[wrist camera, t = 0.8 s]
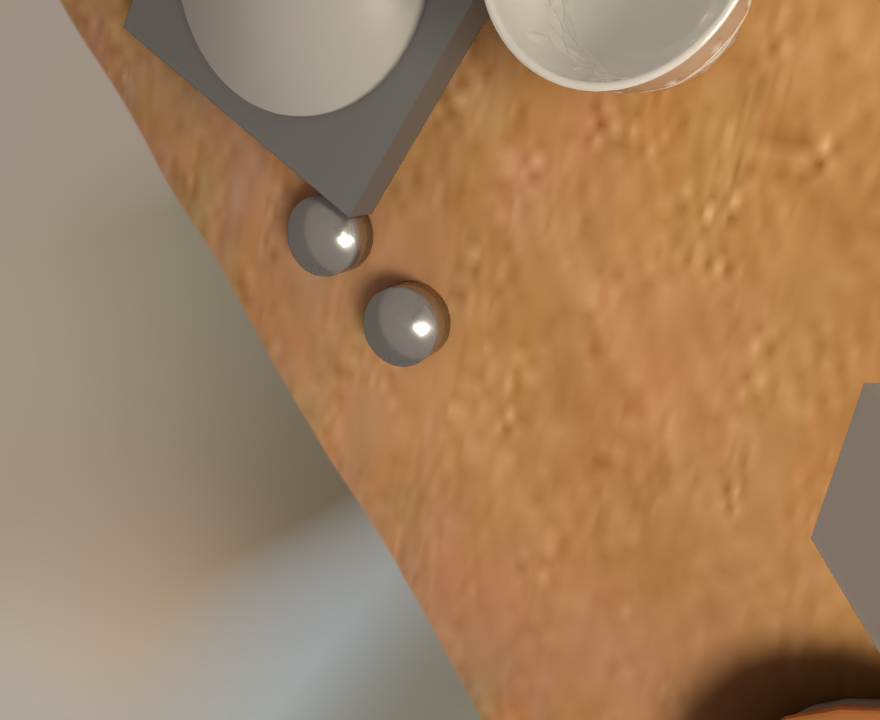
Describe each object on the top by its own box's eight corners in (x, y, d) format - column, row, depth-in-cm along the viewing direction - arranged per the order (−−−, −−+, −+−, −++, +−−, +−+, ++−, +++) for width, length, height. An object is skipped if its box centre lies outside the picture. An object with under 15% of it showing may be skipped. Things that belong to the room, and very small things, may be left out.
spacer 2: (406, 265, 37) (388, 271, 35) (465, 315, 36) (450, 323, 34) (369, 322, 39) (350, 331, 37) (425, 371, 38) (408, 382, 36)
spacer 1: (330, 177, 37) (308, 179, 35) (387, 225, 37) (368, 229, 35) (297, 239, 39) (275, 243, 37) (351, 285, 38) (331, 292, 37)
